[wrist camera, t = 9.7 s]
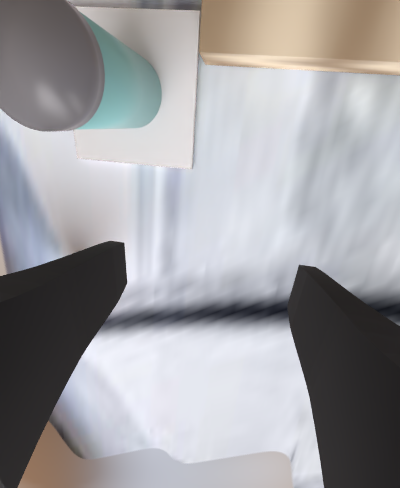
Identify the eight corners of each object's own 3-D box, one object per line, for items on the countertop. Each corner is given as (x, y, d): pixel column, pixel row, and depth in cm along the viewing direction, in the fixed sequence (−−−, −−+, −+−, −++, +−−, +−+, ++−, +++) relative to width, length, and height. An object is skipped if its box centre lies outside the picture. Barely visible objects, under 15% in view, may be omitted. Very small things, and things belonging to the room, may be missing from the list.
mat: (200, 13, 15) (199, 10, 14) (192, 168, 19) (191, 169, 18) (59, 8, 16) (55, 5, 15) (80, 157, 20) (77, 158, 19)
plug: (163, 54, 16) (84, -23, 7) (161, 132, 18) (95, 138, 9) (95, 48, 16) (-51, -33, 8) (100, 125, 18) (-12, 124, 10)
